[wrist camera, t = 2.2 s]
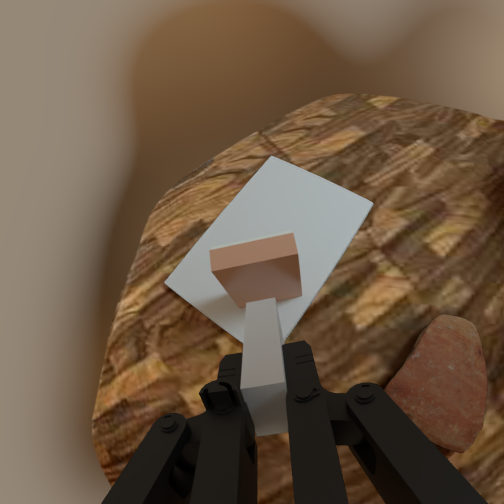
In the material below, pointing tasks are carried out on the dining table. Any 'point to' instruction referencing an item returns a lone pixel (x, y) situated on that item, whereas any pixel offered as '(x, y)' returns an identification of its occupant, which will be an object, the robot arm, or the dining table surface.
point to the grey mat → (270, 222)
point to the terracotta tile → (258, 268)
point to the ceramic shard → (444, 383)
